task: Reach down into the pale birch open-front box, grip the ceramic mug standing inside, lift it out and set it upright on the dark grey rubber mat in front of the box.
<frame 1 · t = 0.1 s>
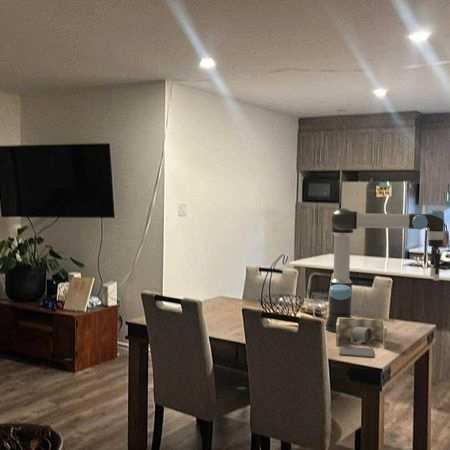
hand: (434, 278, 305), 28 cm above the table, tool pointing down, fingers open, 13 cm apart
ceramic mug: (360, 343, 279), resting in open box
open box: (360, 342, 279), on the table
rubber mat: (356, 352, 261), on the table
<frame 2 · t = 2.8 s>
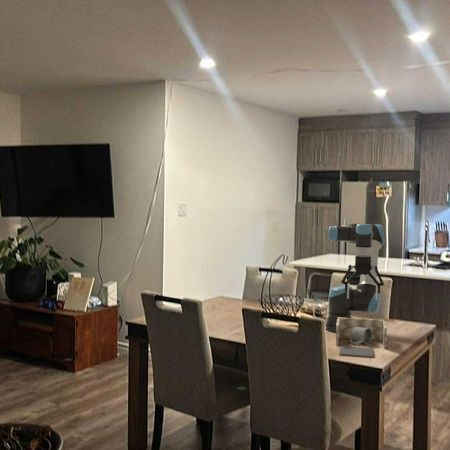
hand: (362, 298, 277), 22 cm above the table, tool pointing down, fingers open, 13 cm apart
nothing on the table moved.
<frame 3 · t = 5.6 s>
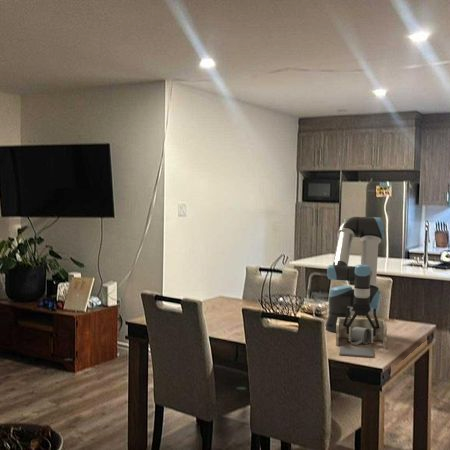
hand: (360, 341, 279), 1 cm above the table, tool pointing down, fingers closed on ceramic mug, 10 cm apart
ceramic mug: (359, 343, 278), resting in open box, touching gripper
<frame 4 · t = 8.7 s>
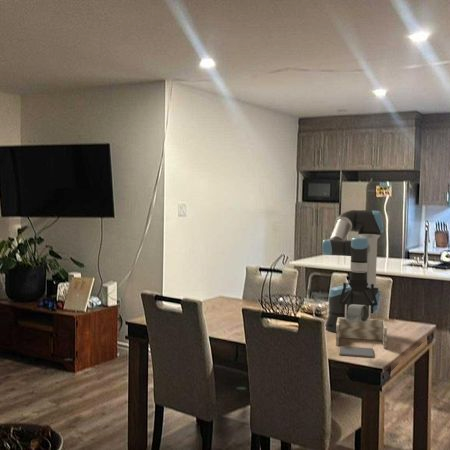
hand: (357, 319, 261), 15 cm above the table, tool pointing down, fingers closed on ceramic mug, 10 cm apart
ceramic mug: (356, 321, 260), point 14 cm above the table, touching gripper
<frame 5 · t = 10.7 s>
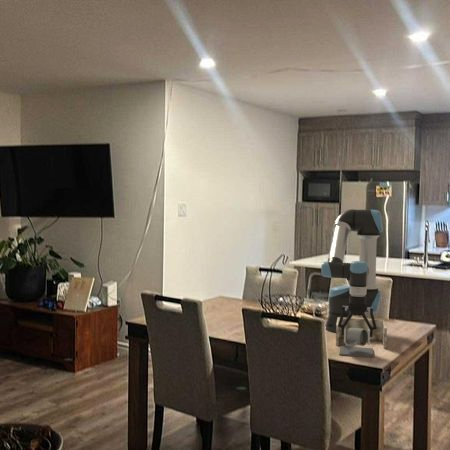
hand: (356, 343, 261), 4 cm above the table, tool pointing down, fingers closed on ceramic mug, 10 cm apart
ceramic mug: (355, 345, 260), point 4 cm above the table, touching gripper
when the fingers open (3 cm above the table, at t = 12.1 s): ceramic mug drops 1 cm, resting on rubber mat.
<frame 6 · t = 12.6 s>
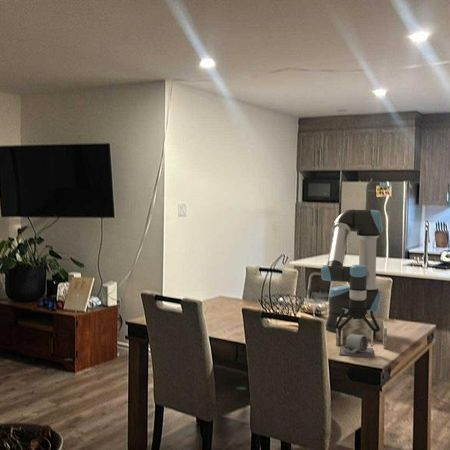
hand: (356, 344, 261), 4 cm above the table, tool pointing down, fingers open, 13 cm apart
ceramic mug: (355, 351, 260), point 1 cm above the table, touching rubber mat
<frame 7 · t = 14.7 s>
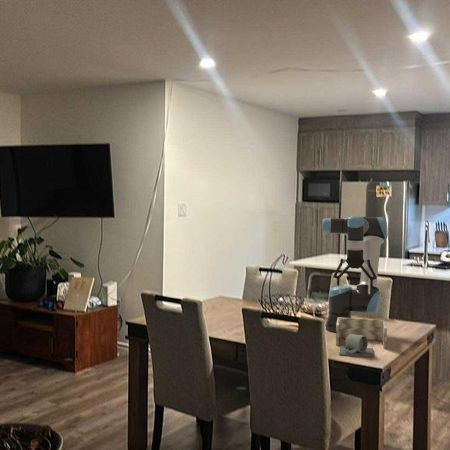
hand: (354, 293, 272), 26 cm above the table, tool pointing down, fingers open, 13 cm apart
nothing on the table moved.
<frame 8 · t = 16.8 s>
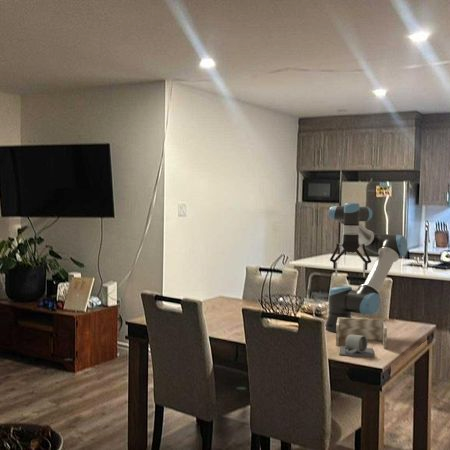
hand: (350, 276, 284), 32 cm above the table, tool pointing down, fingers open, 13 cm apart
nothing on the table moved.
at the end: ceramic mug inside the target area on the rubber mat (1.8 cm from its centre), point 0.6 cm above the rubber mat's base; ceramic mug tilted 0°; the gripper is holding nothing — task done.
